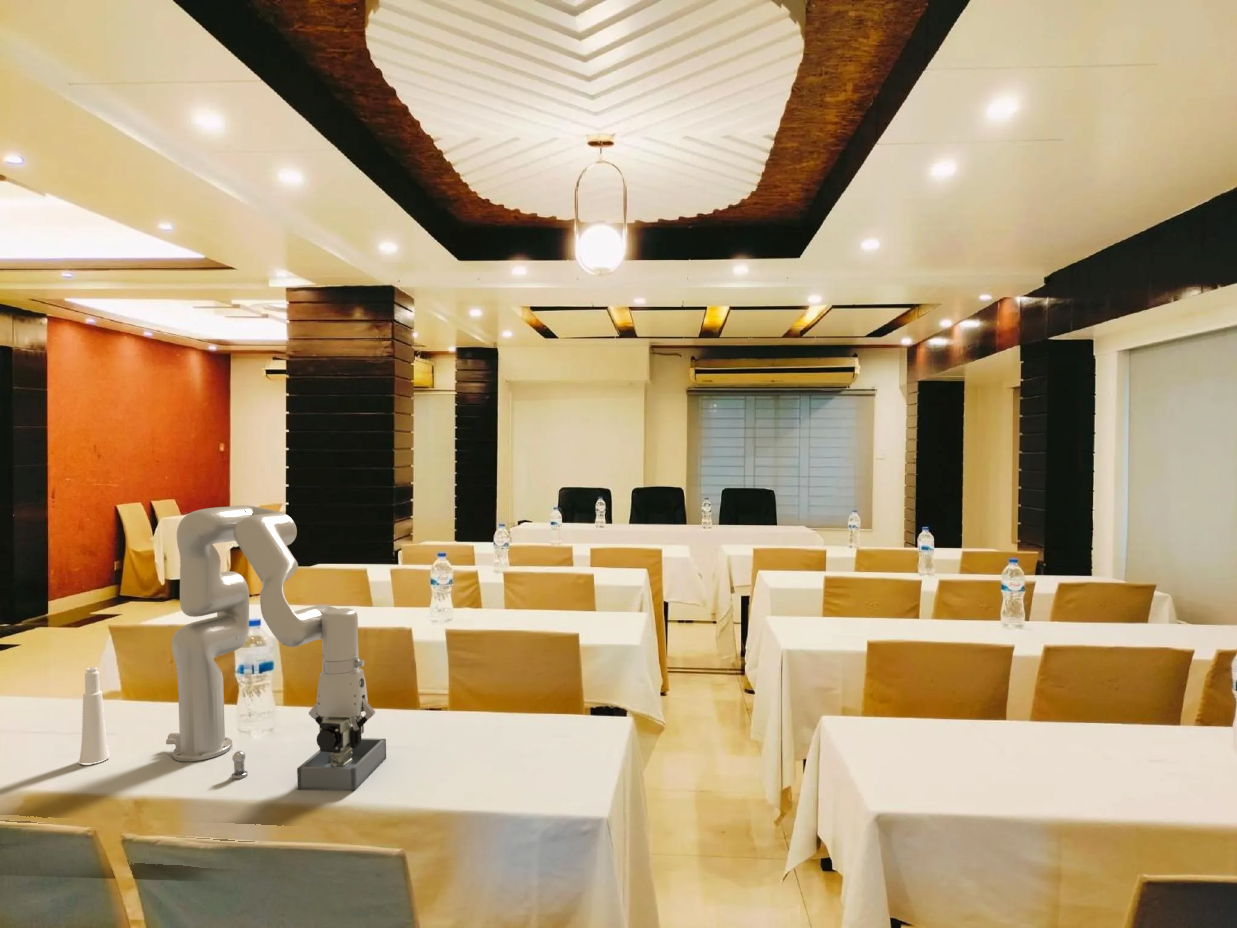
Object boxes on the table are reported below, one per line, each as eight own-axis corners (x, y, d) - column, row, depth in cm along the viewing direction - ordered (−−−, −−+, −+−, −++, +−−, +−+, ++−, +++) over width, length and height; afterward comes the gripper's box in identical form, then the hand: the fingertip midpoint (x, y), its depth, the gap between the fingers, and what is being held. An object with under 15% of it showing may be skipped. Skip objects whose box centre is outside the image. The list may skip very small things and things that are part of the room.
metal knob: (228, 779, 162) (227, 754, 162) (237, 773, 165) (236, 748, 165) (242, 779, 162) (241, 754, 162) (250, 773, 165) (249, 748, 165)
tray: (297, 789, 156) (297, 768, 156) (334, 757, 173) (334, 737, 173) (354, 790, 155) (354, 769, 155) (386, 758, 172) (385, 738, 172)
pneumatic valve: (316, 775, 159) (315, 720, 159) (346, 753, 170) (345, 702, 170) (339, 777, 158) (338, 722, 157) (368, 755, 169) (367, 703, 169)
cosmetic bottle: (109, 761, 173) (106, 669, 172) (77, 768, 170) (74, 673, 169) (111, 753, 178) (108, 663, 178) (80, 758, 175) (77, 667, 175)
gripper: (384, 660, 167) (386, 739, 167) (312, 660, 168) (314, 738, 168) (370, 670, 159) (372, 753, 159) (295, 669, 161) (297, 752, 161)
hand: (342, 745), depth 164 cm, fingers closed on pneumatic valve, 5 cm apart
